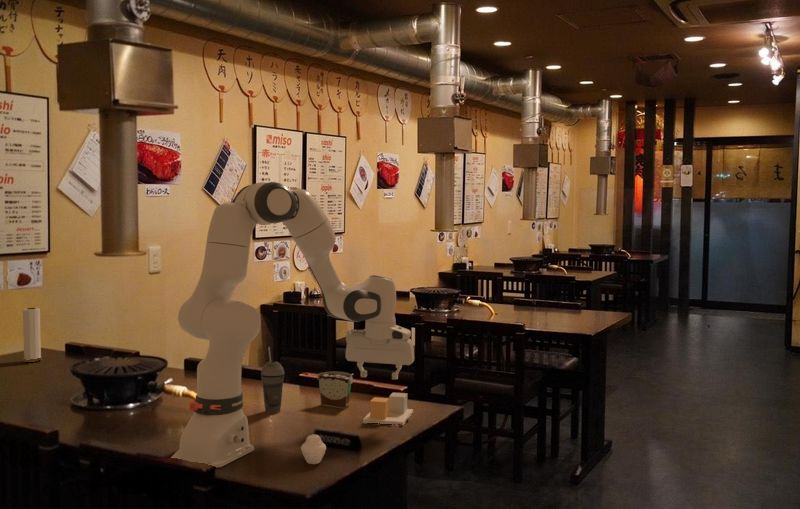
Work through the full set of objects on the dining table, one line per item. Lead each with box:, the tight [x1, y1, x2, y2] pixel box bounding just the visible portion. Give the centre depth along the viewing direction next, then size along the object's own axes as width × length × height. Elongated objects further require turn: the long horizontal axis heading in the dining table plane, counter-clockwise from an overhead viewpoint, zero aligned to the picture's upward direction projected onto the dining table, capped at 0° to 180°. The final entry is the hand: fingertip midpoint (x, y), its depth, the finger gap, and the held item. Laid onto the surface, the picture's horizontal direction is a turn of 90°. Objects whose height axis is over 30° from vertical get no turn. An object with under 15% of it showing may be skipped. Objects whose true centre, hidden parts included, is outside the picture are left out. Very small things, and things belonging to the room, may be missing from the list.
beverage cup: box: [260, 346, 286, 415], centre depth 230 cm, size 7×7×20 cm
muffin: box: [300, 433, 327, 465], centre depth 186 cm, size 6×6×7 cm
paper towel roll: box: [22, 307, 42, 360], centre depth 299 cm, size 7×6×21 cm
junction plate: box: [362, 392, 414, 426], centre depth 225 cm, size 14×12×6 cm
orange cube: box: [369, 396, 389, 419], centre depth 222 cm, size 5×5×5 cm
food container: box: [316, 371, 354, 410], centre depth 240 cm, size 12×6×10 cm, turn 63°
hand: (379, 377), depth 221 cm, fingers open, 8 cm apart
